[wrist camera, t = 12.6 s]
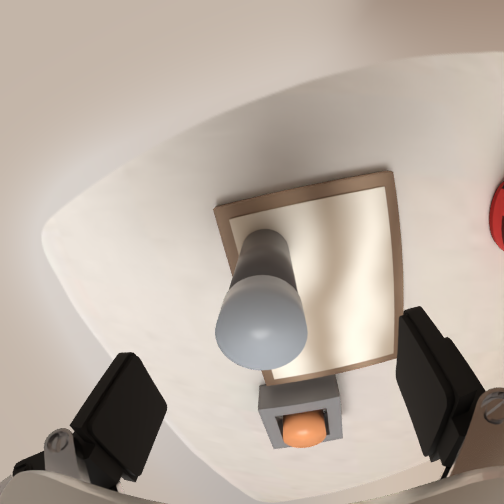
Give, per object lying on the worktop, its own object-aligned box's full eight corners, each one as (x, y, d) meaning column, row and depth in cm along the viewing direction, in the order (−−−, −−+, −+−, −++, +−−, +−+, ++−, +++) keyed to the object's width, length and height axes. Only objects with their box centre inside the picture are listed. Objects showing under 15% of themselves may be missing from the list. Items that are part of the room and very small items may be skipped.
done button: (321, 400, 26) (324, 422, 23) (324, 423, 27) (327, 443, 25) (279, 407, 27) (279, 429, 24) (286, 429, 28) (286, 450, 25)
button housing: (334, 372, 27) (340, 396, 24) (338, 416, 30) (342, 438, 26) (259, 385, 28) (257, 409, 25) (274, 426, 31) (273, 448, 27)
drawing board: (387, 170, 21) (393, 171, 19) (397, 349, 26) (401, 357, 25) (216, 206, 23) (212, 209, 21) (266, 378, 28) (266, 387, 27)
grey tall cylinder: (284, 222, 21) (299, 286, 11) (294, 269, 22) (313, 361, 12) (234, 233, 22) (203, 304, 11) (246, 279, 23) (229, 375, 12)
